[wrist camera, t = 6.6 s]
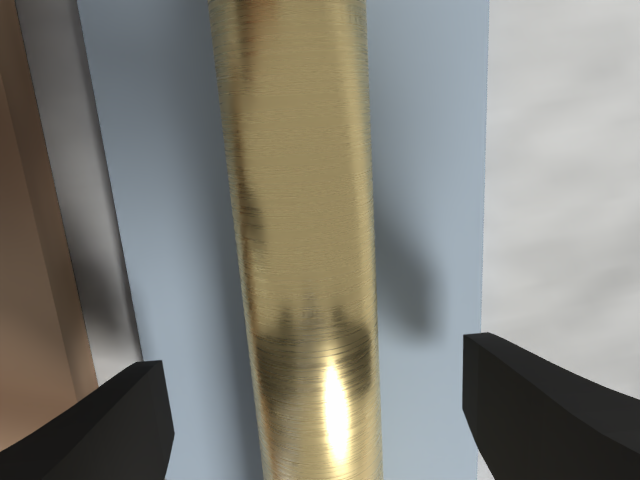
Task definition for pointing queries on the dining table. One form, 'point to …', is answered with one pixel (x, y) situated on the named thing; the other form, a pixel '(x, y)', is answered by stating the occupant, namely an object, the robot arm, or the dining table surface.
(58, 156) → the dining table surface
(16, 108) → the rail stand
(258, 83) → the brass rail
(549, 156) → the dining table surface
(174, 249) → the slate mat
